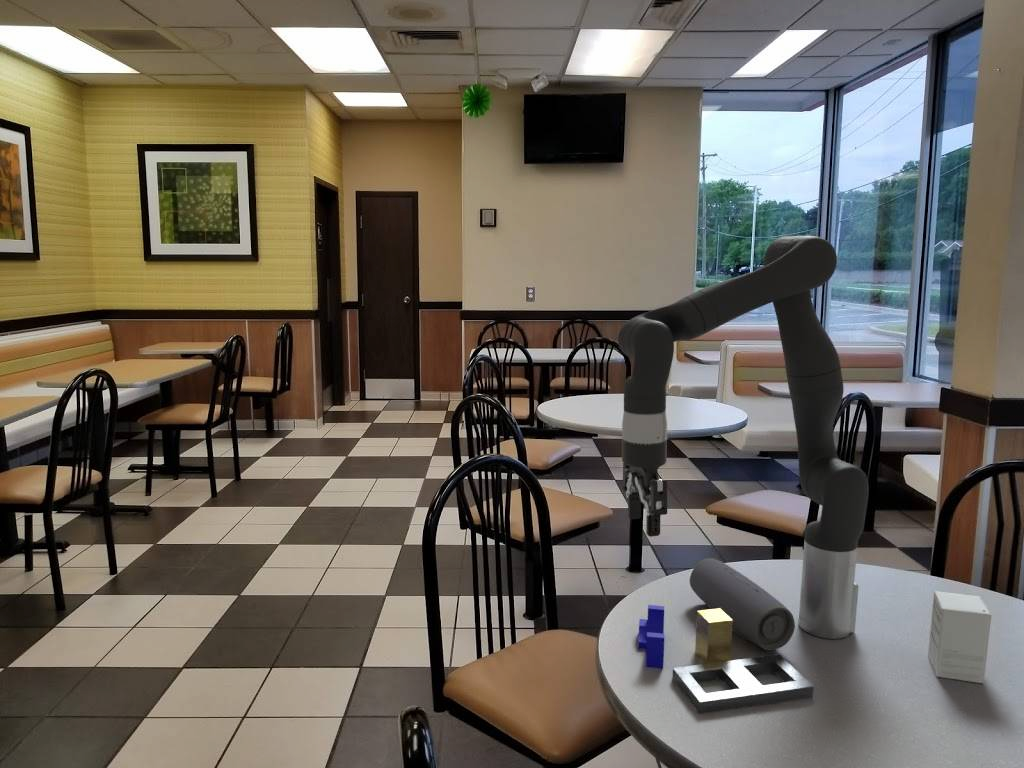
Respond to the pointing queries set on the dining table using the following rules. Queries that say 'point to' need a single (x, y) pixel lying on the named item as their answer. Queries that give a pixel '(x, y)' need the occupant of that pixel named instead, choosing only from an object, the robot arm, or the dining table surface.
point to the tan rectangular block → (713, 636)
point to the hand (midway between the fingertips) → (643, 526)
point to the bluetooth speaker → (743, 604)
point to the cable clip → (653, 636)
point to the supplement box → (959, 636)
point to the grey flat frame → (741, 683)
